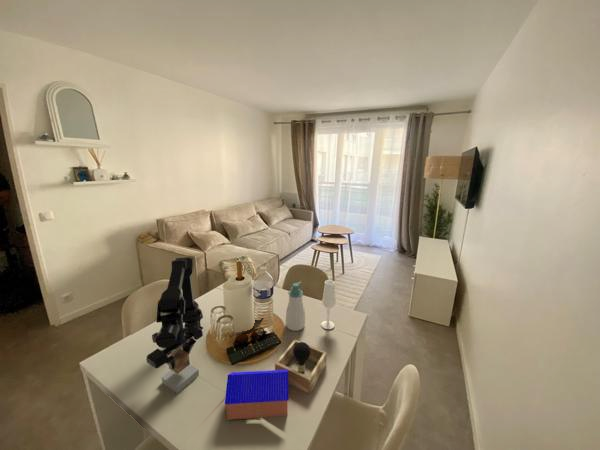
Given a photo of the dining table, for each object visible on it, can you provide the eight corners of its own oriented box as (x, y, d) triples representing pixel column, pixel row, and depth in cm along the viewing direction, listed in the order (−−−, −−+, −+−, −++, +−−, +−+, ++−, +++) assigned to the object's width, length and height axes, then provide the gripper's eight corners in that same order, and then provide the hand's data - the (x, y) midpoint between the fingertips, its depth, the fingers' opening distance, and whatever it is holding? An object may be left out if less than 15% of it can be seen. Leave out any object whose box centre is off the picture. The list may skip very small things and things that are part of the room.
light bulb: (309, 363, 99) (309, 338, 96) (310, 377, 93) (311, 351, 90) (292, 363, 99) (293, 338, 96) (293, 377, 92) (293, 351, 89)
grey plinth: (184, 366, 97) (183, 360, 97) (199, 376, 93) (198, 369, 92) (162, 383, 90) (161, 377, 89) (177, 394, 85) (176, 387, 85)
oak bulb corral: (294, 351, 106) (294, 339, 104) (326, 364, 99) (326, 352, 97) (275, 376, 93) (274, 363, 91) (309, 394, 86) (310, 380, 84)
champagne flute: (330, 331, 119) (332, 286, 113) (318, 325, 123) (320, 282, 117) (336, 324, 124) (339, 281, 118) (325, 319, 128) (327, 277, 122)
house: (233, 387, 88) (231, 360, 86) (287, 384, 90) (287, 358, 87) (225, 420, 77) (223, 391, 74) (288, 416, 78) (288, 387, 75)
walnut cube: (181, 359, 93) (179, 348, 92) (189, 364, 91) (188, 353, 90) (169, 368, 89) (167, 357, 88) (177, 373, 87) (176, 362, 85)
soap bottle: (308, 324, 123) (309, 284, 118) (296, 334, 116) (296, 291, 111) (294, 317, 129) (295, 278, 124) (281, 325, 122) (281, 284, 117)
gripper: (183, 308, 98) (187, 341, 101) (134, 335, 82) (140, 373, 86) (201, 316, 92) (205, 350, 96) (153, 347, 77) (159, 387, 80)
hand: (179, 364), depth 90 cm, fingers closed on walnut cube, 5 cm apart
